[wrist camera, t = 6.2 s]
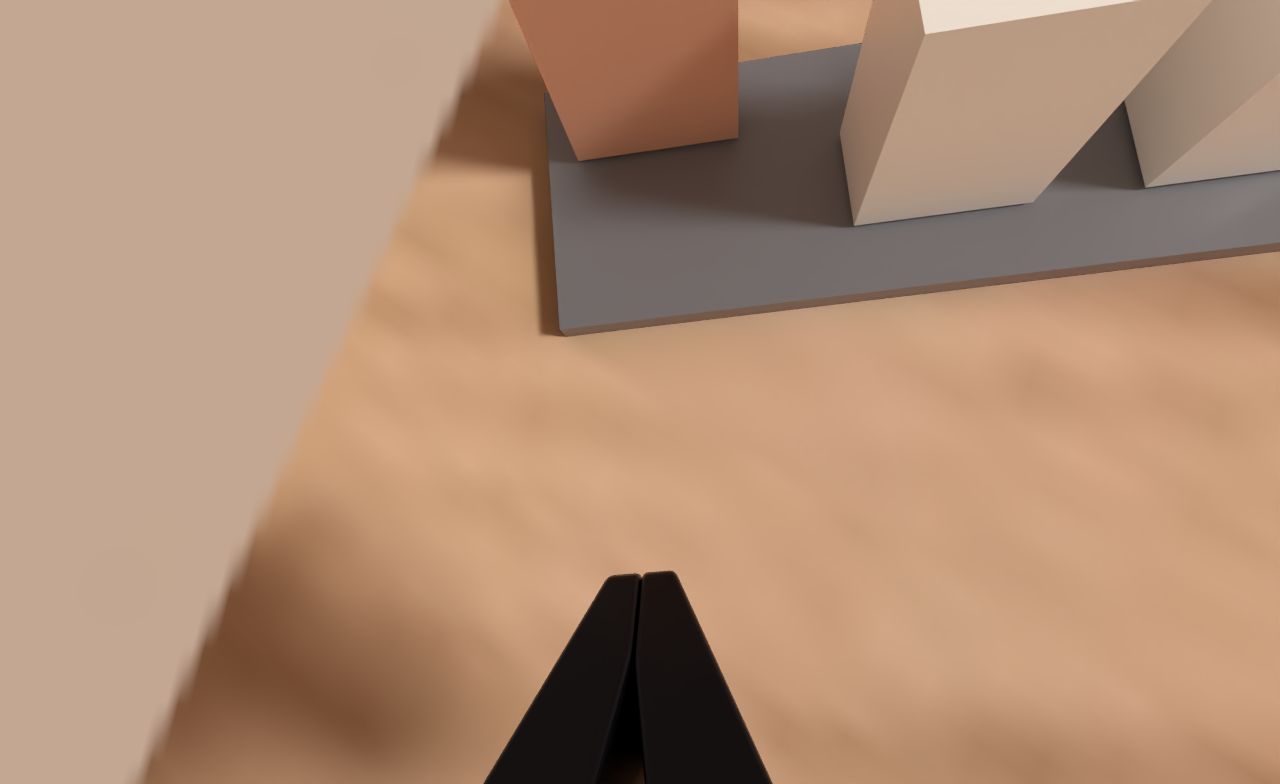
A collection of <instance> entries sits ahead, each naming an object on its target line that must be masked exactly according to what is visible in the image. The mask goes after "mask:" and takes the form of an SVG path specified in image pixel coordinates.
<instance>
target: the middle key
mask: <svg viewBox="0 0 1280 784" xmlns="http://www.w3.org/2000/svg"><path fill="white" fill-rule="evenodd" d="M1211 1H1212V0H873V2H872V6H871V10H870V14H869V18H868V22H867V26H866V30H865V34H864V38H863V42H862V46H861V50H860V54H859V58H858V62H857V66H856V70H855V74H854V78H853V82H852V86H851V90H850V94H849V98H848V102H847V106H846V110H845V114H844V118H843V122H842V126H841V130H840V138H841V144H842V151H843V158H844V164H845V171H846V177H847V184H848V190H849V197H850V203H851V210H852V216H853V223H854V226H856V225H864V224H872V223H879V222H887V221H894V220H902V219H910V218H917V217H925V216H933V215H940V214H948V213H955V212H963V211H971V210H978V209H986V208H993V207H1001V206H1009V205H1016V204H1024V203H1032V202H1034V201H1035V200H1036V198H1037V197H1038V196H1039V195H1040V194H1041V193H1042V192H1043V191H1044V189H1045V188H1046V187H1047V186H1048V185H1049V184H1050V183H1051V182H1052V180H1053V179H1054V178H1055V177H1056V176H1057V175H1058V174H1059V173H1060V171H1061V170H1062V169H1063V168H1064V167H1065V166H1066V165H1067V164H1068V162H1069V161H1070V160H1071V159H1072V158H1073V157H1074V156H1075V155H1076V153H1077V152H1078V151H1079V150H1080V149H1081V148H1082V147H1083V145H1084V144H1085V143H1086V142H1087V141H1088V140H1089V139H1090V138H1091V136H1092V135H1093V134H1094V133H1095V132H1096V131H1097V130H1098V129H1099V127H1100V126H1101V125H1102V124H1103V123H1104V122H1105V121H1106V120H1107V118H1108V117H1109V116H1110V115H1111V114H1112V113H1113V112H1114V111H1115V109H1116V108H1117V107H1118V106H1119V105H1120V104H1121V103H1122V102H1123V100H1124V99H1125V98H1126V97H1127V96H1128V95H1129V94H1130V92H1131V91H1132V90H1133V89H1134V88H1135V87H1136V86H1137V85H1138V83H1139V82H1140V81H1141V80H1142V79H1143V78H1144V77H1145V76H1146V74H1147V73H1148V72H1149V71H1150V70H1151V69H1152V68H1153V67H1154V65H1155V64H1156V63H1157V62H1158V61H1159V60H1160V59H1161V58H1162V56H1163V55H1164V54H1165V53H1166V52H1167V51H1168V50H1169V49H1170V47H1171V46H1172V45H1173V44H1174V43H1175V42H1176V41H1177V39H1178V38H1179V37H1180V36H1181V35H1182V34H1183V33H1184V32H1185V30H1186V29H1187V28H1188V27H1189V26H1190V25H1191V24H1192V23H1193V21H1194V20H1195V19H1196V18H1197V17H1198V16H1199V15H1200V14H1201V12H1202V11H1203V10H1204V9H1205V8H1206V7H1207V6H1208V5H1209V3H1210V2H1211Z"/></svg>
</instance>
